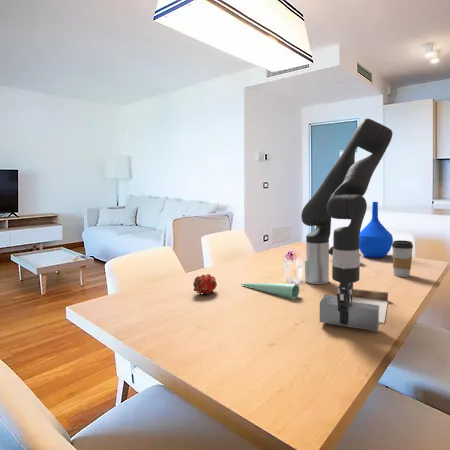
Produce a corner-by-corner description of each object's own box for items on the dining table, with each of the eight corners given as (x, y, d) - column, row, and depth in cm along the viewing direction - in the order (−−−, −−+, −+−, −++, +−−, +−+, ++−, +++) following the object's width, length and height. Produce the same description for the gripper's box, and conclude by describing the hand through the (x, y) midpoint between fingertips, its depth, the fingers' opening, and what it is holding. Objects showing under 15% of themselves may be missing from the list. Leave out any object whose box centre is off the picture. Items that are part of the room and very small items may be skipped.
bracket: (319, 322, 109) (319, 302, 108) (324, 312, 116) (325, 294, 115) (377, 330, 101) (378, 310, 101) (379, 320, 109) (380, 300, 108)
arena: (332, 316, 116) (332, 307, 115) (343, 295, 136) (343, 287, 135) (384, 323, 109) (384, 314, 109) (387, 300, 129) (387, 292, 129)
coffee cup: (394, 272, 166) (394, 239, 164) (414, 274, 161) (415, 241, 159) (388, 276, 160) (389, 242, 158) (409, 278, 155) (410, 244, 153)
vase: (367, 251, 213) (368, 200, 210) (398, 255, 199) (400, 201, 195) (350, 256, 202) (350, 202, 198) (382, 261, 188) (383, 203, 184)
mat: (337, 317, 115) (337, 316, 115) (347, 297, 134) (347, 296, 134) (384, 323, 109) (384, 322, 109) (387, 301, 128) (387, 300, 128)
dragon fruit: (192, 301, 139) (213, 297, 149) (206, 291, 135) (227, 288, 144) (184, 281, 143) (205, 279, 152) (198, 271, 138) (218, 269, 147)
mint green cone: (245, 272, 155) (299, 282, 136) (245, 284, 155) (299, 297, 137) (236, 274, 151) (291, 286, 132) (236, 287, 151) (291, 300, 133)
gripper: (336, 257, 113) (336, 311, 115) (327, 268, 100) (327, 328, 102) (362, 259, 110) (361, 314, 112) (356, 270, 97) (355, 332, 99)
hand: (345, 320), depth 107 cm, fingers closed on bracket, 4 cm apart
